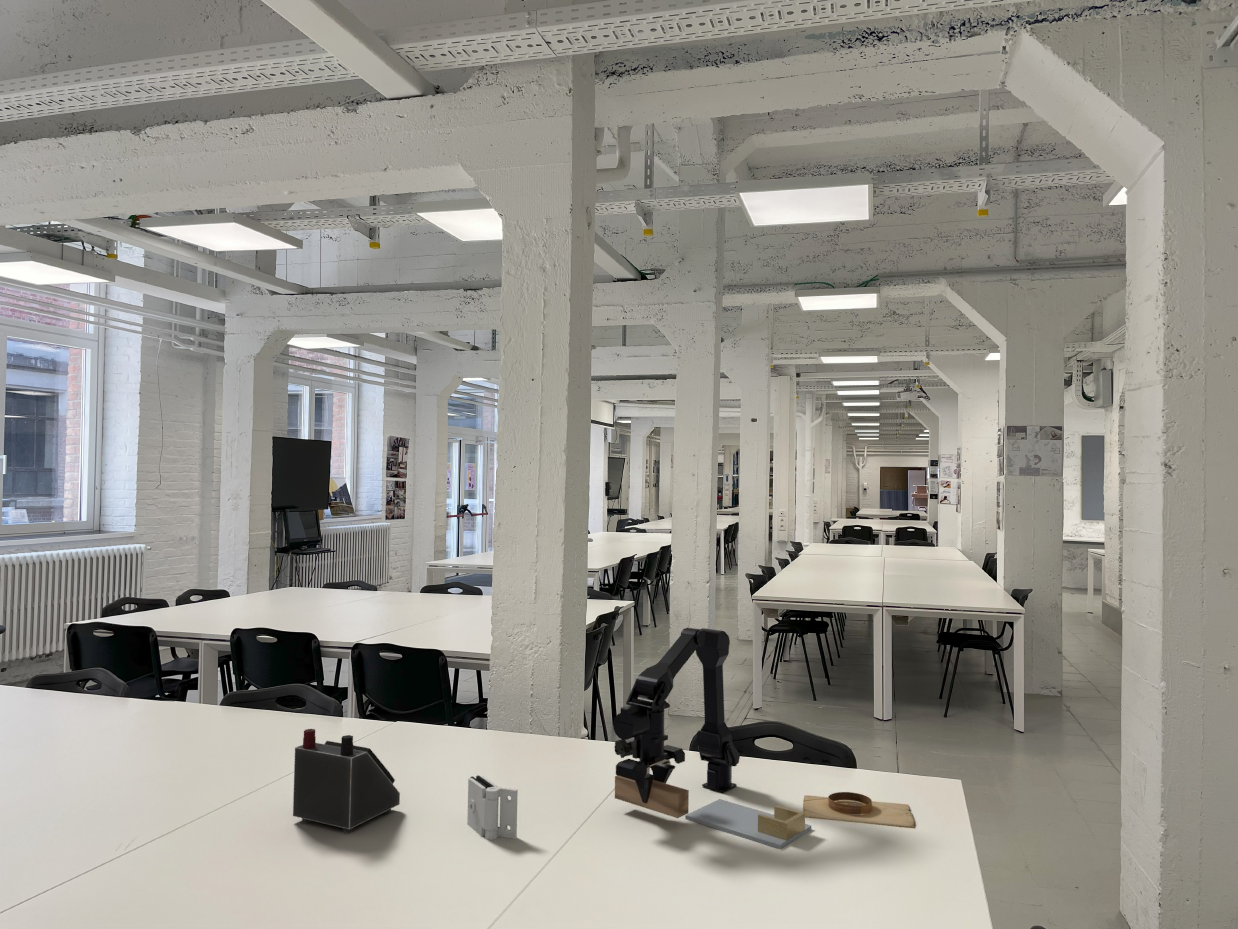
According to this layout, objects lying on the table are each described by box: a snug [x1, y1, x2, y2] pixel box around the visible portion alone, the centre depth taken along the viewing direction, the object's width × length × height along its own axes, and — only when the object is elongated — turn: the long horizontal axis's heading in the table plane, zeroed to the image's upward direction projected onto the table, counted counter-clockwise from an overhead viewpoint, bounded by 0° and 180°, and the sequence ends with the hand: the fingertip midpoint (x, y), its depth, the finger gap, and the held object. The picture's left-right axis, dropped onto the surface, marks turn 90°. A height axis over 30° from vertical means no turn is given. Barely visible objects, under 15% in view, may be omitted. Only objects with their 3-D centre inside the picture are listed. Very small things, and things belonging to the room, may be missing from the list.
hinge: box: [466, 774, 519, 840], centre depth 179 cm, size 14×5×10 cm, turn 46°
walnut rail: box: [614, 775, 690, 819], centre depth 188 cm, size 4×18×5 cm, turn 50°
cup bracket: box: [758, 805, 806, 841], centre depth 180 cm, size 8×7×4 cm
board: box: [802, 791, 916, 829], centre depth 195 cm, size 25×15×3 cm, turn 78°
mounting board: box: [684, 798, 812, 850], centre depth 186 cm, size 14×24×1 cm, turn 50°
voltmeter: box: [292, 728, 401, 833], centre depth 187 cm, size 16×16×20 cm
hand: (650, 800), depth 188 cm, fingers closed on walnut rail, 4 cm apart
